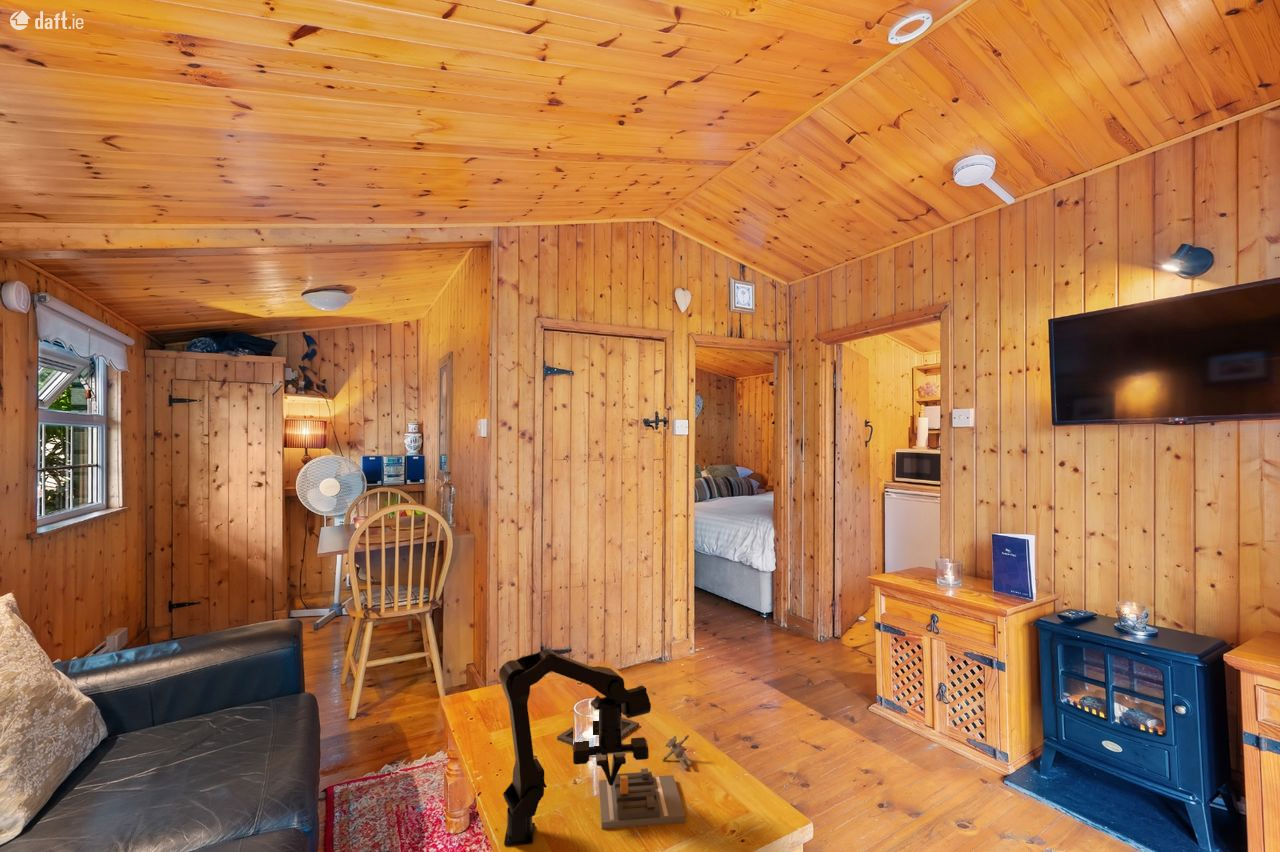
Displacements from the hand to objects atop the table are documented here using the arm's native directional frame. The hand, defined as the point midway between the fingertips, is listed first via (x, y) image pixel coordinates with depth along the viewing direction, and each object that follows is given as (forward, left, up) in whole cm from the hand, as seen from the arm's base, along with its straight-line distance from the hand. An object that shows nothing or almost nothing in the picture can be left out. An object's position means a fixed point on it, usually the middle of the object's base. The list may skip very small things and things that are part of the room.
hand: (610, 784), depth 145 cm
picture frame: (+36, +2, -6) cm, 37 cm away
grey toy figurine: (+17, -21, -5) cm, 28 cm away
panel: (0, -7, -5) cm, 9 cm away
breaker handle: (0, -3, -2) cm, 4 cm away
